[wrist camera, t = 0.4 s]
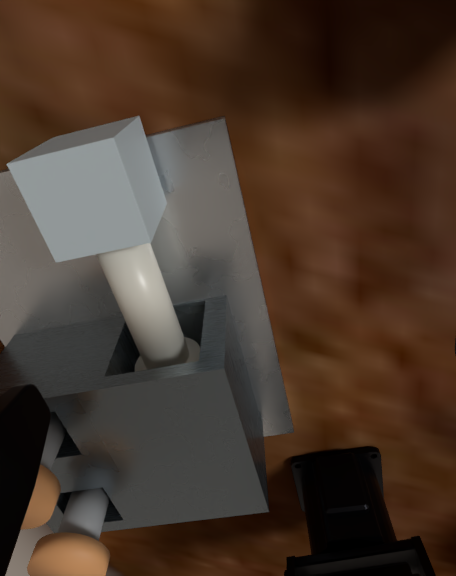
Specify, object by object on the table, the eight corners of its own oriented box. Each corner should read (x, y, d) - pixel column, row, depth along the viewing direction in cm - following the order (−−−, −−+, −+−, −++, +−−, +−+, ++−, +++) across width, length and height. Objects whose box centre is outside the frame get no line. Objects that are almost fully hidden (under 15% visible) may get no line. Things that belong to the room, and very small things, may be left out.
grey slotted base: (292, 425, 30) (306, 517, 24) (82, 455, 32) (49, 547, 26) (224, 115, 19) (220, 150, 13) (-85, 191, 21) (-202, 249, 15)
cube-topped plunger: (237, 422, 28) (237, 483, 24) (179, 430, 28) (170, 491, 24) (139, 115, 18) (113, 137, 14) (53, 137, 18) (6, 164, 15)
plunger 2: (133, 505, 25) (116, 588, 21) (75, 513, 26) (48, 595, 22) (110, 466, 23) (86, 550, 20) (48, 475, 24) (13, 558, 20)
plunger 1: (95, 441, 22) (67, 524, 18) (30, 451, 23) (-11, 533, 19) (65, 390, 20) (26, 471, 17) (-6, 402, 21) (-59, 483, 17)
